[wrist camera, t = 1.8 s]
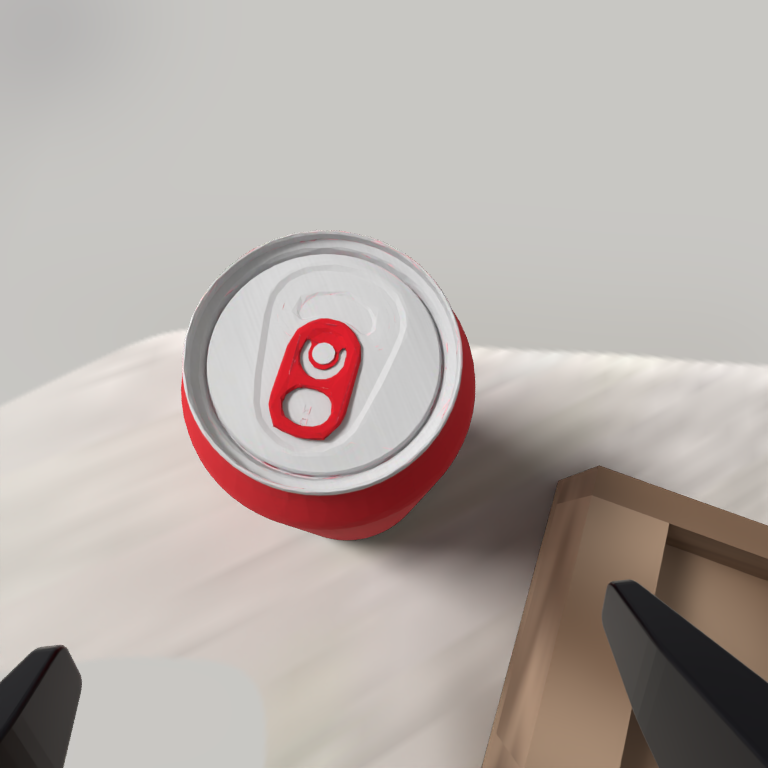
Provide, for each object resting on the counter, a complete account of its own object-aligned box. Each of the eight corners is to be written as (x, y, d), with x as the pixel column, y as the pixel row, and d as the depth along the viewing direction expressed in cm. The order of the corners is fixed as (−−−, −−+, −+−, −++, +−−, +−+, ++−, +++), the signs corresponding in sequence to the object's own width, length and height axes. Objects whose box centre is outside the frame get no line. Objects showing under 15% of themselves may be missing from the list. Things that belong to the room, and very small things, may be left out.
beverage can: (443, 404, 22) (522, 248, 11) (406, 559, 21) (453, 569, 9) (295, 366, 23) (220, 174, 11) (246, 516, 21) (95, 471, 9)
